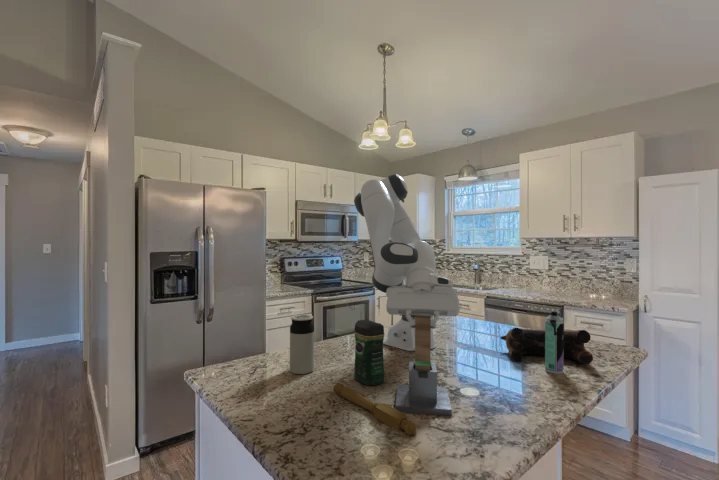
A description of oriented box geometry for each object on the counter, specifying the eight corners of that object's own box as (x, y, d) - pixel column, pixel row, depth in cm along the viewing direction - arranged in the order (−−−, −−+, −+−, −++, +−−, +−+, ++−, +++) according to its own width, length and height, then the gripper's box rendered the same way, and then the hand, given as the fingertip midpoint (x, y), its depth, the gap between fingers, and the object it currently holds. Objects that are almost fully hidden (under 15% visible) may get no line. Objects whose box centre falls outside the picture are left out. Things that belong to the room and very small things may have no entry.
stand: (397, 389, 107) (397, 357, 107) (446, 392, 105) (446, 359, 105) (395, 411, 93) (395, 374, 93) (451, 415, 91) (451, 377, 91)
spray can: (565, 374, 119) (566, 313, 119) (547, 373, 120) (548, 312, 120) (560, 368, 124) (560, 310, 124) (542, 367, 126) (543, 309, 126)
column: (414, 369, 101) (415, 315, 101) (429, 370, 101) (430, 315, 101) (414, 375, 97) (415, 318, 97) (430, 376, 97) (430, 318, 96)
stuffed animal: (598, 325, 126) (574, 319, 150) (503, 328, 133) (495, 321, 157) (604, 364, 124) (579, 351, 148) (507, 364, 131) (498, 352, 155)
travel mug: (318, 368, 124) (318, 315, 124) (305, 376, 117) (305, 320, 117) (298, 365, 127) (298, 313, 127) (284, 372, 120) (285, 317, 120)
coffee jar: (388, 383, 112) (388, 322, 112) (366, 388, 107) (367, 325, 107) (371, 373, 120) (371, 316, 120) (350, 377, 116) (350, 319, 116)
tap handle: (341, 381, 106) (419, 421, 83) (341, 391, 106) (419, 434, 83) (332, 383, 104) (409, 425, 81) (332, 394, 104) (409, 439, 81)
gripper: (386, 278, 107) (383, 319, 97) (457, 280, 104) (462, 322, 95) (387, 291, 112) (384, 331, 102) (455, 293, 109) (460, 334, 99)
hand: (422, 327), depth 98 cm, fingers closed on column, 4 cm apart
